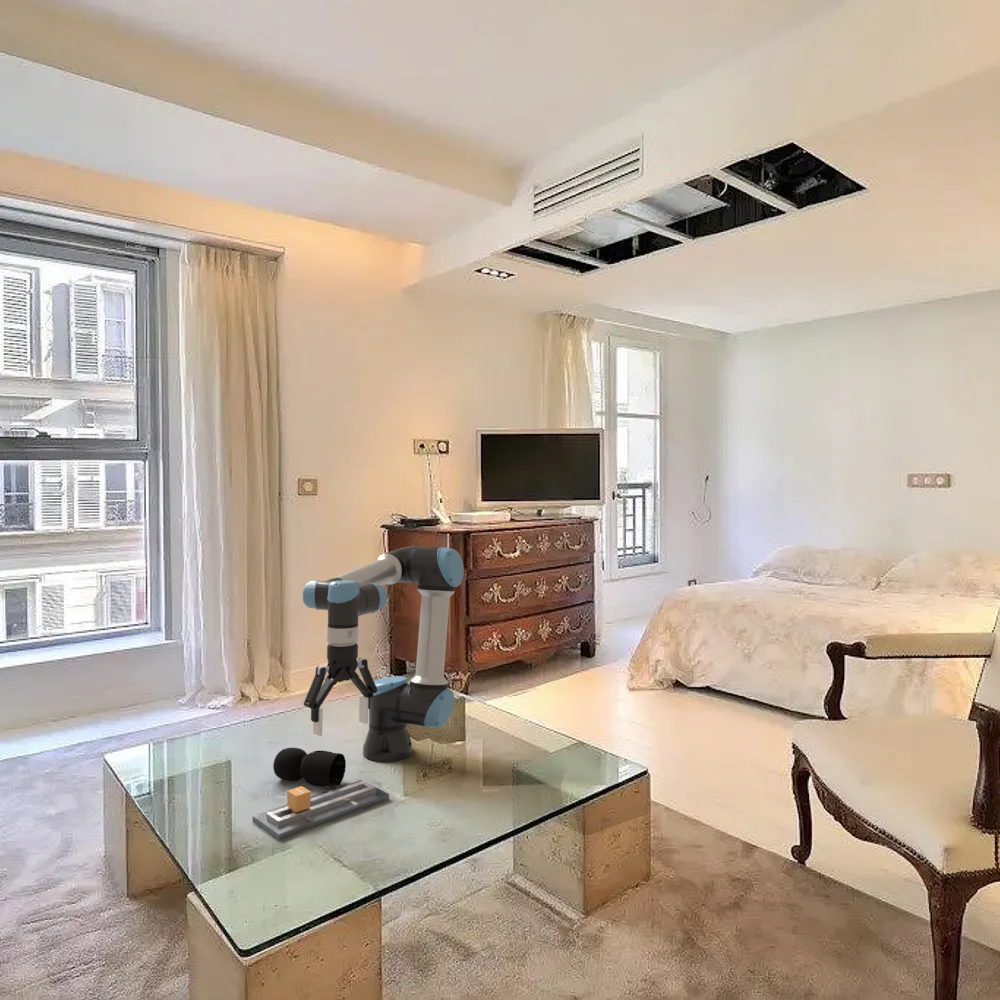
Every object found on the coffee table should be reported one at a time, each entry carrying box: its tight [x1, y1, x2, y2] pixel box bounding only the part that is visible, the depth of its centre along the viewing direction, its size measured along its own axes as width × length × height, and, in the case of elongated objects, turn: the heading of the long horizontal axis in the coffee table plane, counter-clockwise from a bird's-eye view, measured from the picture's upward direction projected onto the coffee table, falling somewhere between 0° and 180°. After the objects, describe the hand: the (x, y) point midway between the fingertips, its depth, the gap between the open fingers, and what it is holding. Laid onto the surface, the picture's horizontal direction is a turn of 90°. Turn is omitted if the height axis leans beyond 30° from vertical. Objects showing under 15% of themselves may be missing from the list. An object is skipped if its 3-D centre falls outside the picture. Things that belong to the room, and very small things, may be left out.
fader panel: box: [252, 779, 390, 841], centre depth 189 cm, size 32×13×3 cm, turn 135°
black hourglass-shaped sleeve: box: [272, 747, 347, 789], centre depth 206 cm, size 9×9×20 cm
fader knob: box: [286, 785, 312, 813], centre depth 183 cm, size 4×4×5 cm
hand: (341, 728), depth 183 cm, fingers open, 13 cm apart
